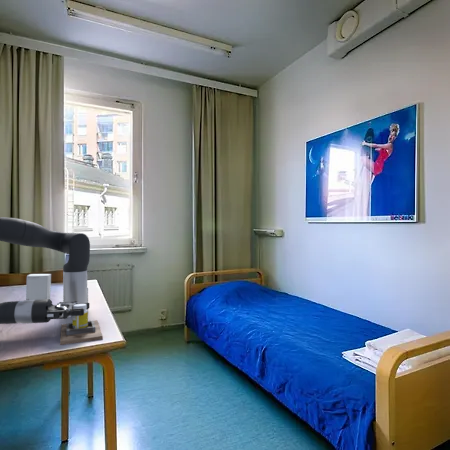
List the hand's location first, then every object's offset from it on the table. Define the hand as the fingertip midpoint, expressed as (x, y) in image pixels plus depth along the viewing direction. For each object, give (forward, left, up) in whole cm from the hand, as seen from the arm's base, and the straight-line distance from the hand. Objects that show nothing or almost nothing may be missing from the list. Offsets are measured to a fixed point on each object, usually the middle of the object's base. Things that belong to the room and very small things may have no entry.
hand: (86, 308), depth 112 cm
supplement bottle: (+1, -2, -7) cm, 7 cm away
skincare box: (-24, -37, -8) cm, 45 cm away
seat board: (+1, -2, -8) cm, 8 cm away
